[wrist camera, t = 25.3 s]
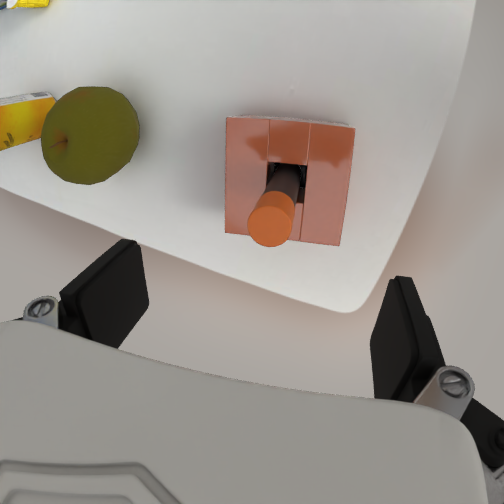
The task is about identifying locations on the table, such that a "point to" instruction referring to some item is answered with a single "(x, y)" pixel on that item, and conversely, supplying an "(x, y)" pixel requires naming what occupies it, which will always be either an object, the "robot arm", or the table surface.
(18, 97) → the beer can
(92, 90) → the apple
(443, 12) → the table surface
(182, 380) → the robot arm
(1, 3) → the milk carton
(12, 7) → the watch
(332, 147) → the holder
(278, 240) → the marker
